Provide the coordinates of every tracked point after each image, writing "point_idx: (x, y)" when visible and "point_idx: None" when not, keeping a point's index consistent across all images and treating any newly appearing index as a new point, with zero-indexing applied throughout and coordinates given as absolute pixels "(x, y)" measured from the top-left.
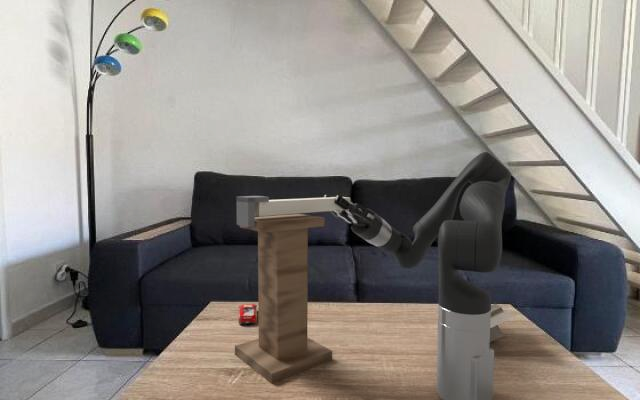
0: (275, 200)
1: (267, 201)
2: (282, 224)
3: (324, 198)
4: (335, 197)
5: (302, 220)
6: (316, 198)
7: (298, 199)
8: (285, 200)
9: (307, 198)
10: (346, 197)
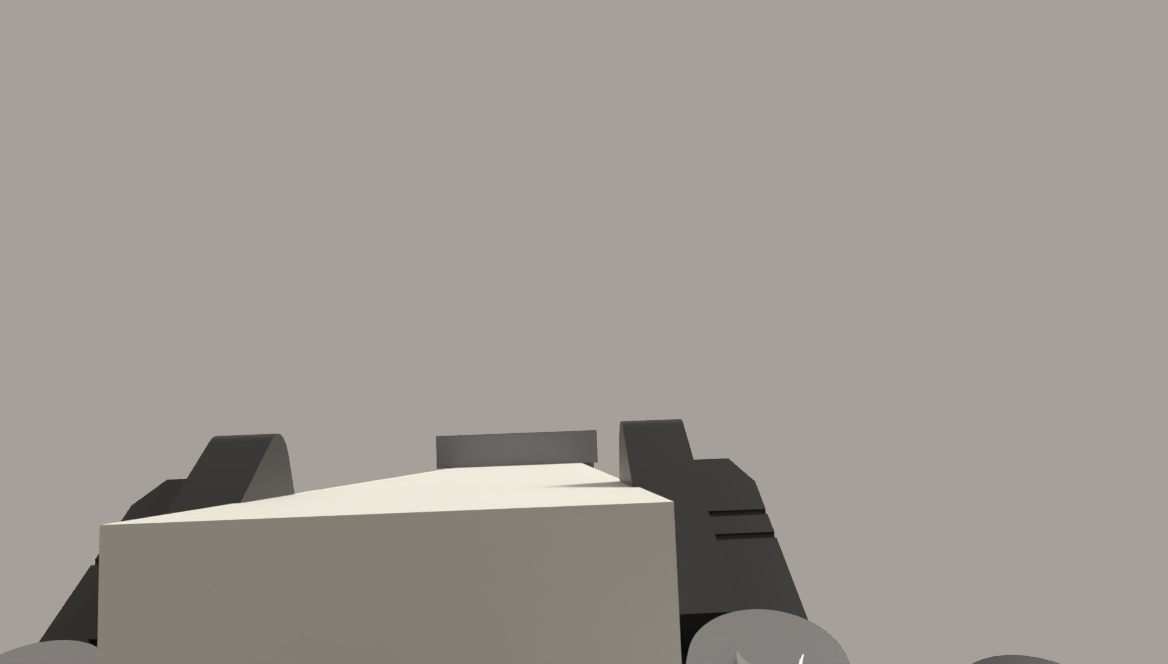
0: (503, 467)
1: (437, 467)
2: None
3: (405, 483)
4: (492, 493)
5: None
6: (489, 478)
7: (481, 472)
8: (450, 470)
9: (566, 472)
10: (251, 515)
